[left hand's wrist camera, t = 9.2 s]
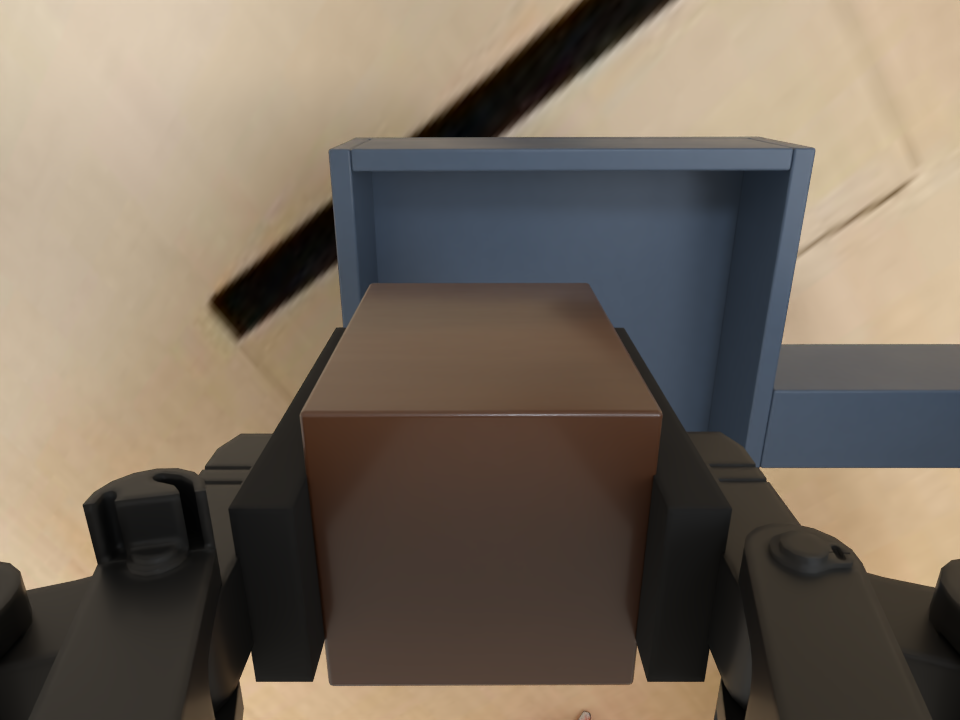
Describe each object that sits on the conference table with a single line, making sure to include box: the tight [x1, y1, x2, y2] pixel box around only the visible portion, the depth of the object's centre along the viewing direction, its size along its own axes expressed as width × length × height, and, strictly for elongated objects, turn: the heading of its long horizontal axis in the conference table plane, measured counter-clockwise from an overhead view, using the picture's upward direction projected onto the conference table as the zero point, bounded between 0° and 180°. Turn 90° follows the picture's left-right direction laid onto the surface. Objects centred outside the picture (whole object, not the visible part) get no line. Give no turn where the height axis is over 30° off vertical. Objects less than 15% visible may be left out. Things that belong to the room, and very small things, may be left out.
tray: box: [329, 137, 960, 468], centre depth 23 cm, size 25×17×4 cm
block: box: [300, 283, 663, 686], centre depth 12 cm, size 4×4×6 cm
